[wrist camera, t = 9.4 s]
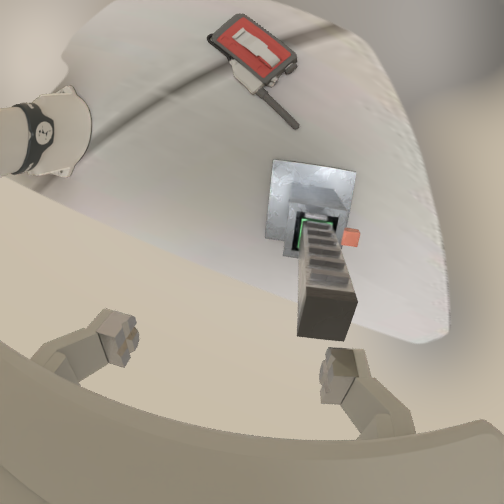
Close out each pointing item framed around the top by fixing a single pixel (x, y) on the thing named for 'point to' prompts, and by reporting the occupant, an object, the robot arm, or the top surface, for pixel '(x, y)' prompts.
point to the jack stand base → (308, 201)
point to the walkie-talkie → (255, 57)
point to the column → (322, 281)
